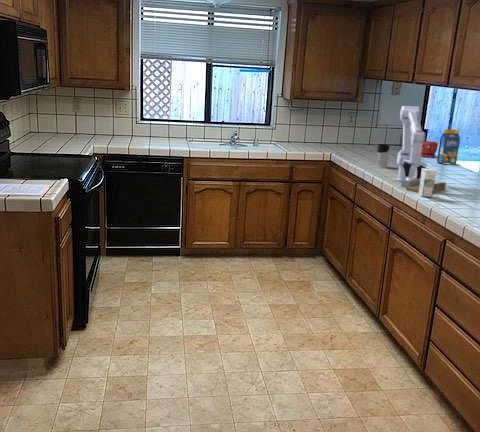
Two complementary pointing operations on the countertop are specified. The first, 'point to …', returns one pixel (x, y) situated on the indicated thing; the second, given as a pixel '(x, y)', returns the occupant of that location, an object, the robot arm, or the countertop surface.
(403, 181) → the tray
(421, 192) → the syrup box
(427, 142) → the plant pot
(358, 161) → the countertop surface
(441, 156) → the blue food package
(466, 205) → the countertop surface
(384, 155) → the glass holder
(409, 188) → the shelf
